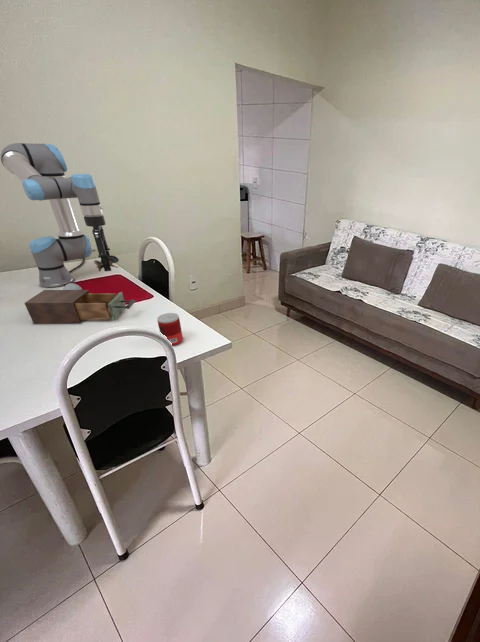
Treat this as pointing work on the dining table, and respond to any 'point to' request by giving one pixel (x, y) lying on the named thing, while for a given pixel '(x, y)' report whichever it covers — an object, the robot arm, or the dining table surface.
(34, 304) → the cabinet
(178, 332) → the canned food
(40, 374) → the dining table surface
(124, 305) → the drawer
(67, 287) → the ceramic mug
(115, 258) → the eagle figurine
